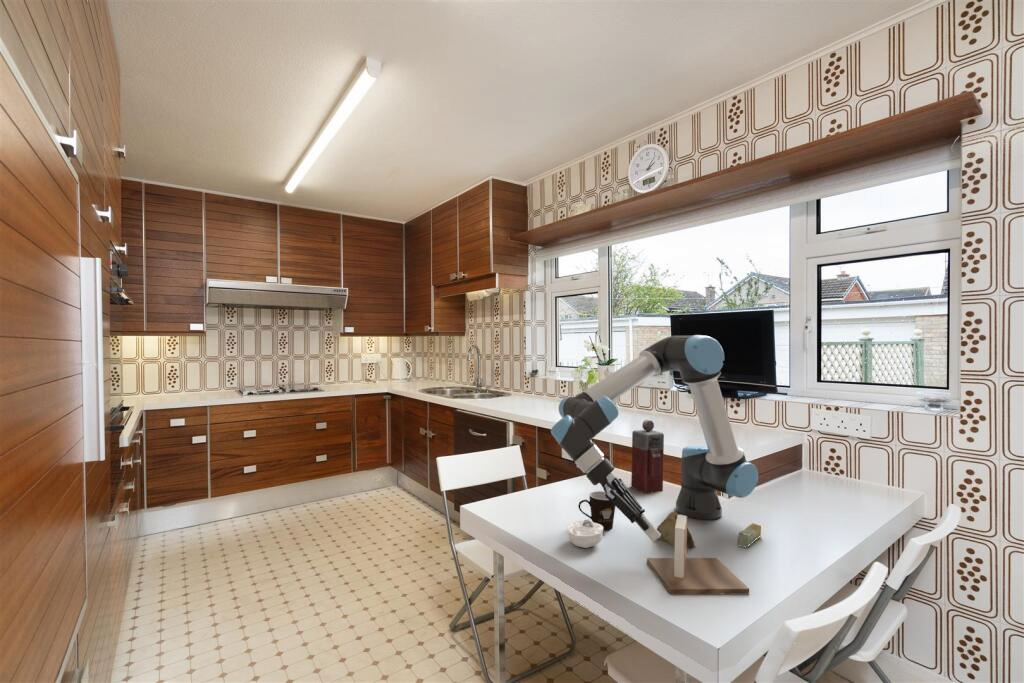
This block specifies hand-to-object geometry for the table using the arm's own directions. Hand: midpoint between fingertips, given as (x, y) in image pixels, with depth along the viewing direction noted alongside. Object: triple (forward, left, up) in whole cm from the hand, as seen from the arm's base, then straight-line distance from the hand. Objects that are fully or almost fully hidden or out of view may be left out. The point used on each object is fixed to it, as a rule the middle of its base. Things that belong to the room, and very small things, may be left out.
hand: (656, 538), depth 122 cm
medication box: (-35, -17, -9) cm, 40 cm away
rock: (-11, -17, -8) cm, 22 cm away
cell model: (+16, -15, -8) cm, 23 cm away
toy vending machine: (-21, -67, -8) cm, 71 cm away
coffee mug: (+9, -29, -8) cm, 31 cm away
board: (-8, +4, -8) cm, 12 cm away
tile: (-5, +2, -7) cm, 9 cm away
